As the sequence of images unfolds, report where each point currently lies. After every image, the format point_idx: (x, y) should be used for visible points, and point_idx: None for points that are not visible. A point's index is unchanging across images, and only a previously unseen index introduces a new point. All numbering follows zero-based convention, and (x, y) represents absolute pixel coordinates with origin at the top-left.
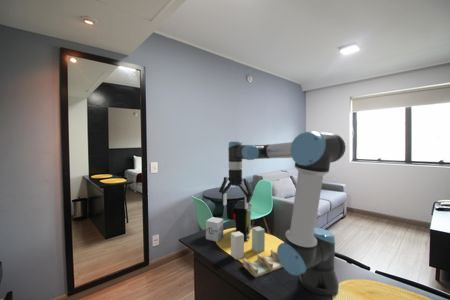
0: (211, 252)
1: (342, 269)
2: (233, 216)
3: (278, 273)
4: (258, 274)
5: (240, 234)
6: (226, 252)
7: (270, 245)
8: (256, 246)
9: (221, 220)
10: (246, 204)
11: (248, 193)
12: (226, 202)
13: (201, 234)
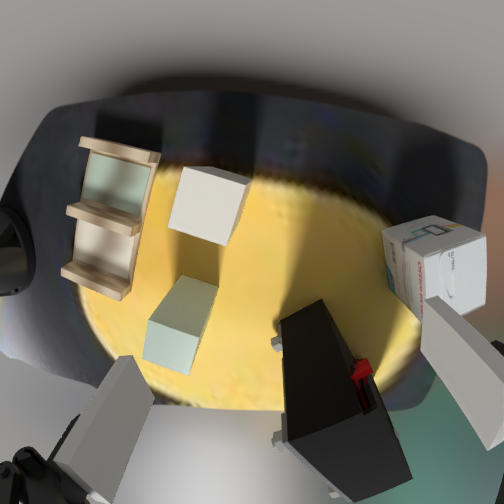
0: (335, 136)
1: (18, 336)
2: (367, 365)
3: None
4: (92, 152)
5: (184, 213)
6: (283, 182)
7: None
8: (181, 286)
9: None
10: (101, 396)
11: (10, 494)
12: (431, 361)
13: None
